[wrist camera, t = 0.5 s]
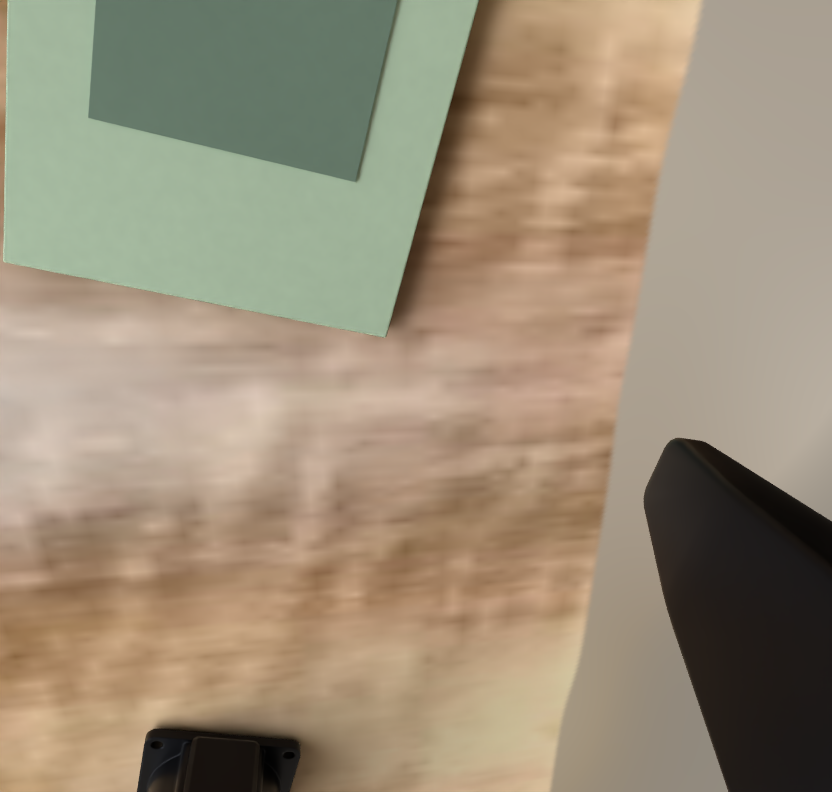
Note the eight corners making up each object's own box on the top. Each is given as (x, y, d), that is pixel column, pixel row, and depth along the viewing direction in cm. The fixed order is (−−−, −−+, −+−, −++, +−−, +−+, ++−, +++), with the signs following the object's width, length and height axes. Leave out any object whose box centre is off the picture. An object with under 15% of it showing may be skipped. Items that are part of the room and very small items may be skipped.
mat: (384, 330, 25) (386, 340, 24) (9, 254, 22) (1, 263, 22) (561, -314, 17) (569, -323, 17) (26, -529, 15) (13, -549, 14)
